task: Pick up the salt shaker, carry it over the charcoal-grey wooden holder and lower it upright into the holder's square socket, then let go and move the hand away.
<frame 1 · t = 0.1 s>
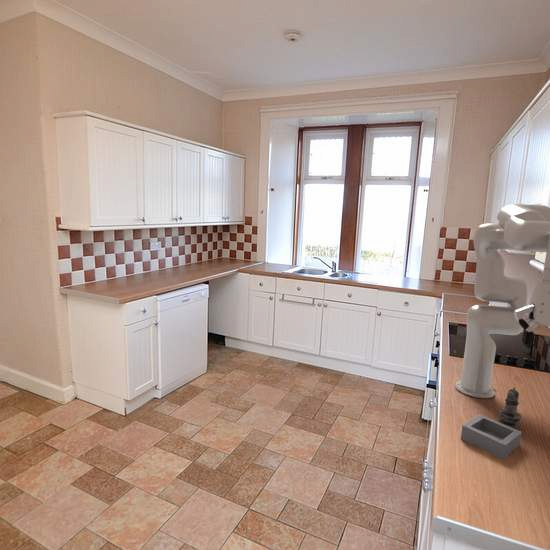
hand: (549, 349, 89), 31 cm above the countertop, tool pointing down, fingers open, 9 cm apart
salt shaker: (508, 425, 115), on the countertop
holder: (489, 442, 105), on the countertop
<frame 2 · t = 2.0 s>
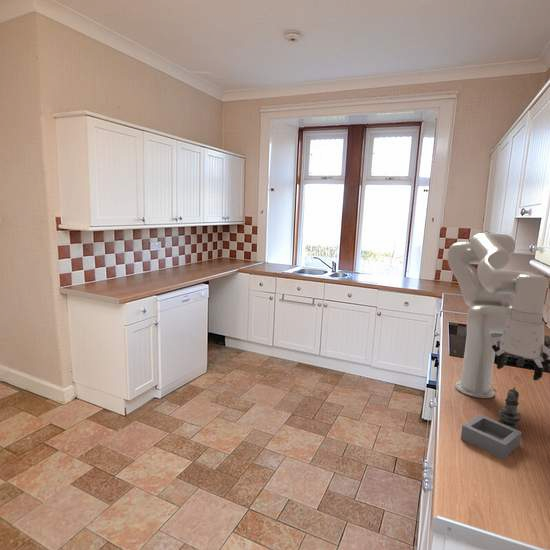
hand: (517, 373, 112), 17 cm above the countertop, tool pointing down, fingers open, 9 cm apart
nothing on the countertop moved.
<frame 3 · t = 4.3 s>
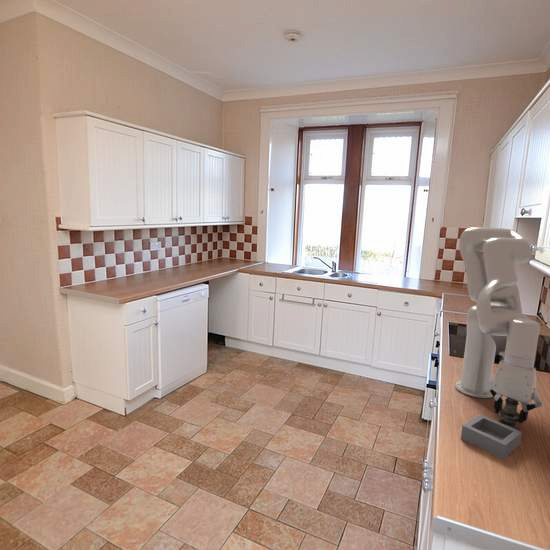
hand: (509, 416, 115), 3 cm above the countertop, tool pointing down, fingers closed on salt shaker, 5 cm apart
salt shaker: (508, 425, 115), on the countertop, touching gripper
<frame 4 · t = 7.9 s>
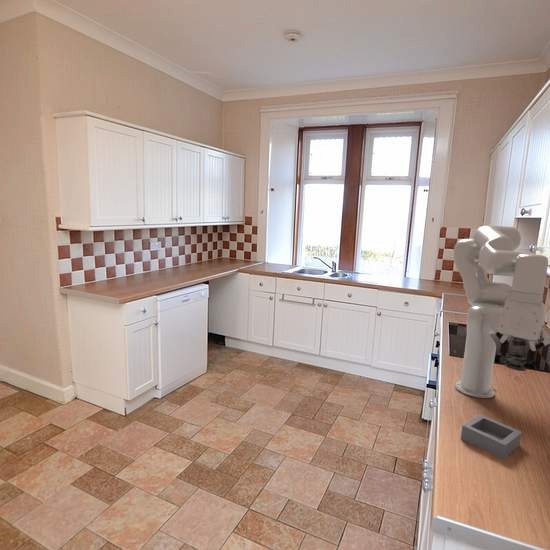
hand: (516, 358, 110), 22 cm above the countertop, tool pointing down, fingers closed on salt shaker, 5 cm apart
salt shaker: (515, 367, 110), point 19 cm above the countertop, touching gripper
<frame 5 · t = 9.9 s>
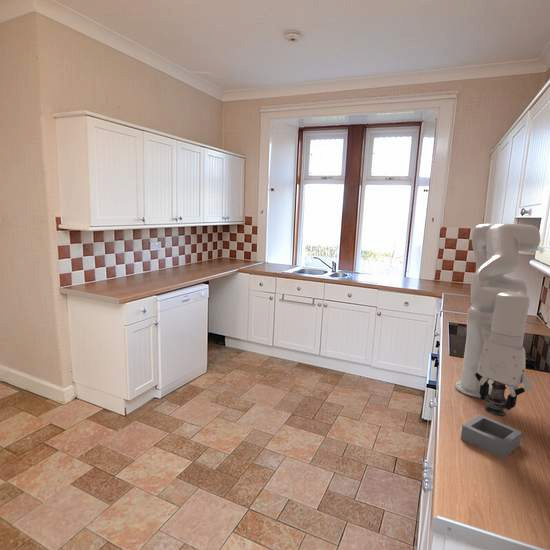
hand: (496, 402, 103), 12 cm above the countertop, tool pointing down, fingers closed on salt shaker, 5 cm apart
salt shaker: (494, 412, 104), point 9 cm above the countertop, touching gripper
when the fingers open (5 cm above the countertop, at t = 11.6 s): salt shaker drops 1 cm, resting on holder.
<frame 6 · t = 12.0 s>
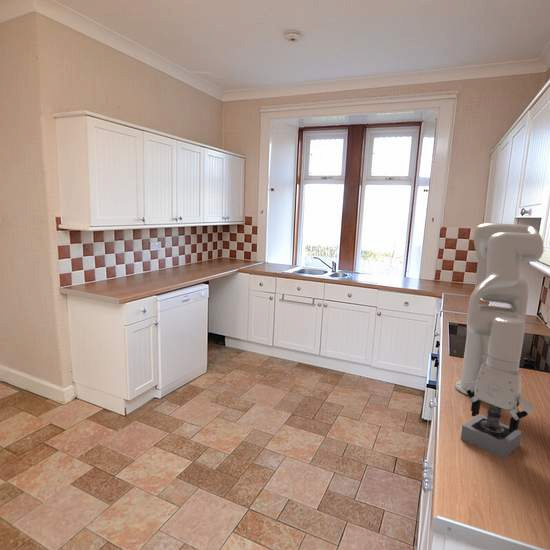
hand: (493, 422, 104), 6 cm above the countertop, tool pointing down, fingers open, 9 cm apart
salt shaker: (490, 438, 105), point 1 cm above the countertop, touching holder
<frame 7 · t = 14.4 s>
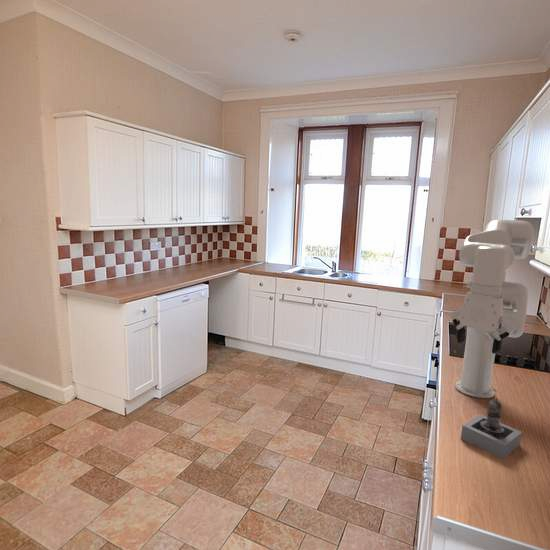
hand: (477, 346, 111), 24 cm above the countertop, tool pointing down, fingers open, 9 cm apart
nothing on the countertop moved.
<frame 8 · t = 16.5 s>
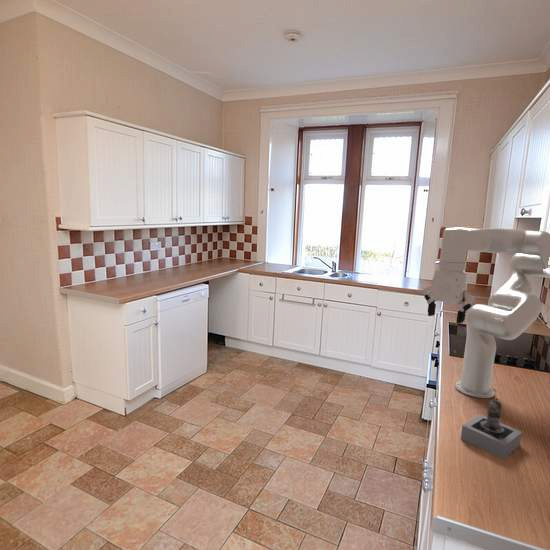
hand: (445, 319, 124), 28 cm above the countertop, tool pointing down, fingers open, 9 cm apart
nothing on the countertop moved.
at the end: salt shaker 0.1 cm off-centre on the holder, point 0.8 cm above the holder's base; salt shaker tilted 0°; the gripper is holding nothing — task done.
